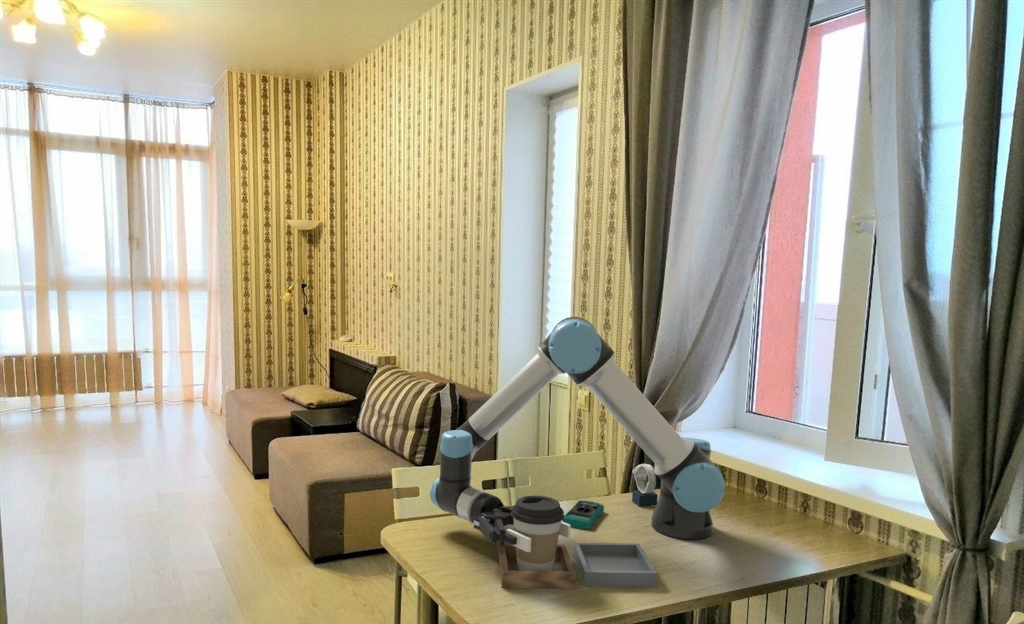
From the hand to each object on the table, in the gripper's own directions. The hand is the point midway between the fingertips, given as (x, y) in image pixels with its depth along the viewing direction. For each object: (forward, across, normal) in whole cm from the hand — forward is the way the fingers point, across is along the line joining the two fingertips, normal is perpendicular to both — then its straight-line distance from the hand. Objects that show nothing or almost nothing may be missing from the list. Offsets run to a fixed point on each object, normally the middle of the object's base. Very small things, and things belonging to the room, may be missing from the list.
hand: (550, 538), depth 142 cm
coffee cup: (-4, 0, -9) cm, 10 cm away
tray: (+6, -14, -8) cm, 17 cm away
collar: (-4, 0, -8) cm, 9 cm away
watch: (-15, -55, -9) cm, 58 cm away
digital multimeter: (-18, -32, -9) cm, 38 cm away
